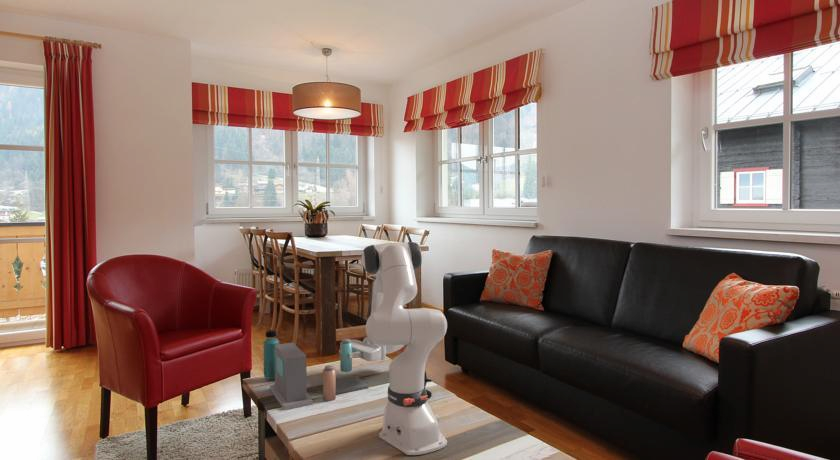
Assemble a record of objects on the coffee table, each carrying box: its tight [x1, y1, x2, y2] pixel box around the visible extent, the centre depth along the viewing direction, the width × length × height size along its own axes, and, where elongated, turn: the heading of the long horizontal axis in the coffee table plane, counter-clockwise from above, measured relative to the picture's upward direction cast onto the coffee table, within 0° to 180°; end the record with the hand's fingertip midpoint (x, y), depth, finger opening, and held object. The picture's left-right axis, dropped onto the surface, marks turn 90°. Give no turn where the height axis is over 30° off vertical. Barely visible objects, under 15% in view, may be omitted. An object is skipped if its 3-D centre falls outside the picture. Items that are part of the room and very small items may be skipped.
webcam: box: [424, 370, 433, 399], centre depth 185 cm, size 8×8×10 cm
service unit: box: [269, 342, 314, 411], centre depth 184 cm, size 22×10×18 cm, turn 29°
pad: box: [336, 374, 369, 396], centre depth 195 cm, size 13×13×1 cm
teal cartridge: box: [339, 338, 353, 373], centre depth 194 cm, size 4×4×12 cm
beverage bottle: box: [262, 329, 280, 379], centre depth 201 cm, size 6×7×20 cm
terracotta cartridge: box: [322, 364, 337, 402], centre depth 182 cm, size 4×4×12 cm
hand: (344, 354), depth 194 cm, fingers closed on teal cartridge, 4 cm apart
